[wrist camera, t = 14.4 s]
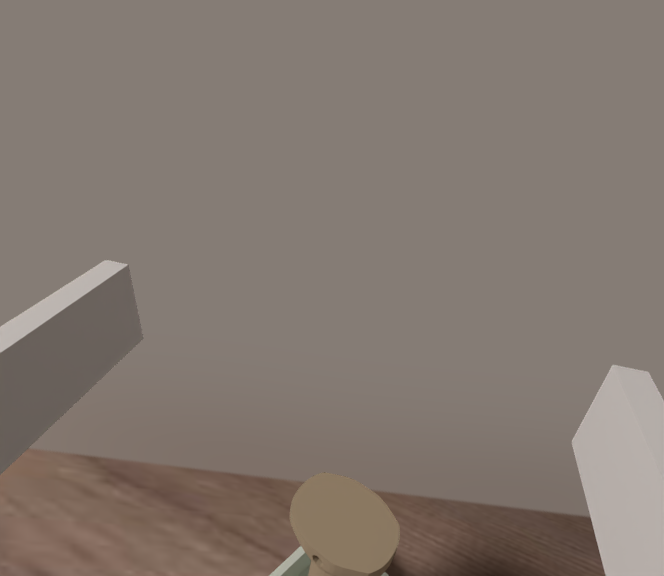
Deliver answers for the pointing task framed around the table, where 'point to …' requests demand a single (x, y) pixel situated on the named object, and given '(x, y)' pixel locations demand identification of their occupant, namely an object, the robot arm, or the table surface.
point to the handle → (343, 527)
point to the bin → (297, 565)
